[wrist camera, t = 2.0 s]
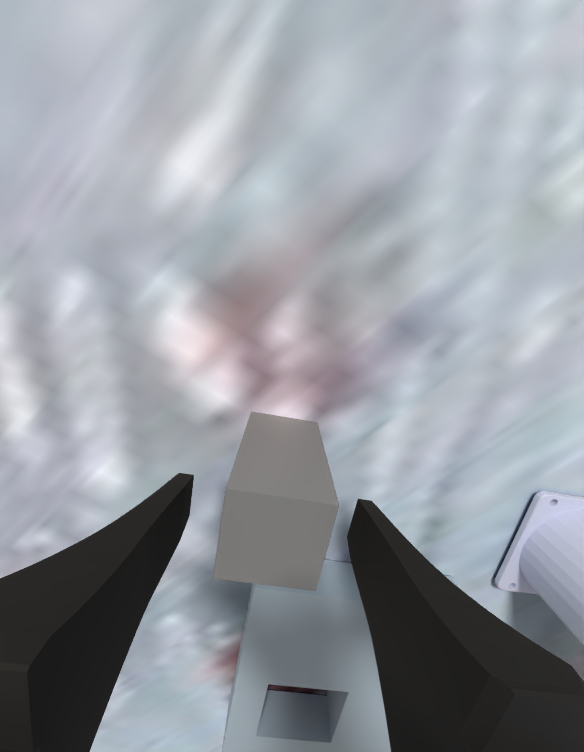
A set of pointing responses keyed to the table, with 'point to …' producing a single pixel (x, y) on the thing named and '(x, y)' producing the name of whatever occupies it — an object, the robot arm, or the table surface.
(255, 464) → the grey rectangular block
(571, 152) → the table surface
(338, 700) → the socket plate
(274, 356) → the table surface
